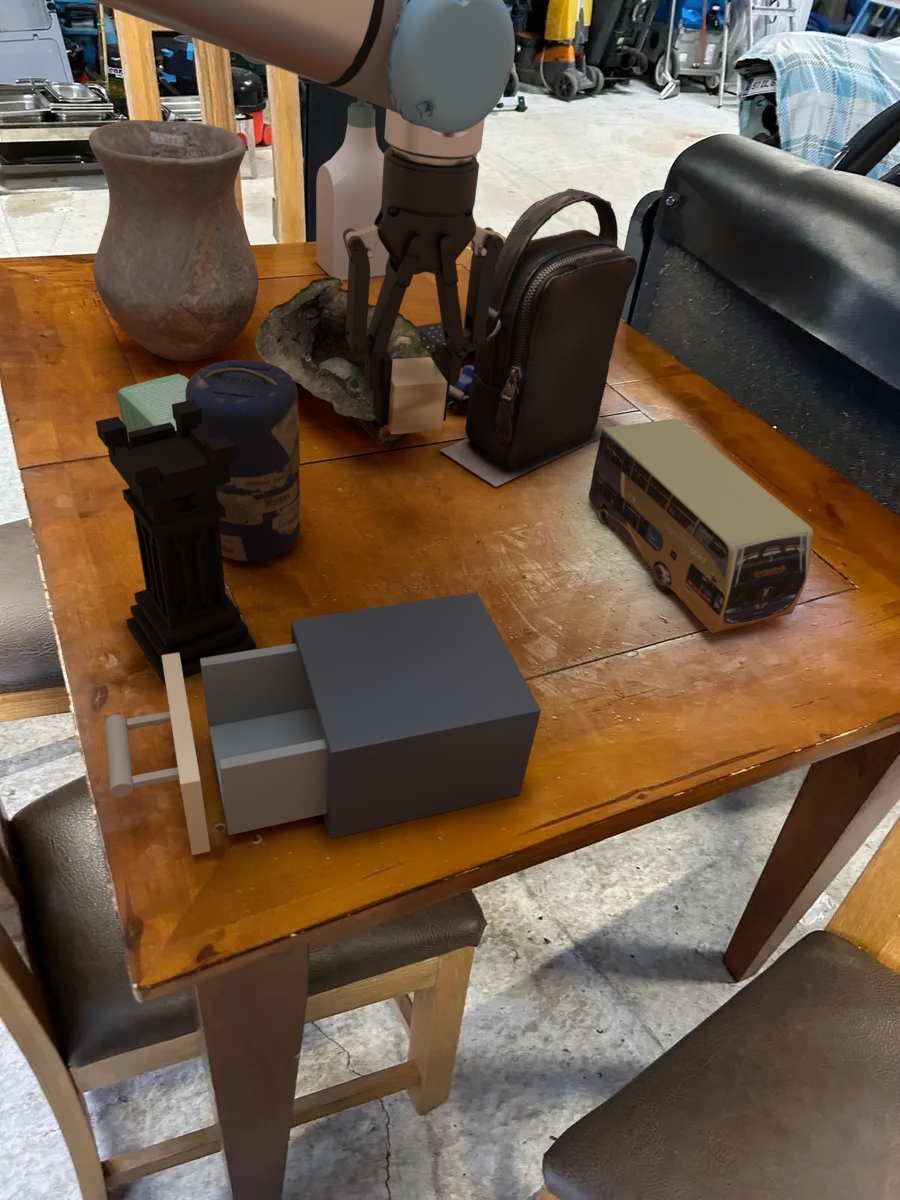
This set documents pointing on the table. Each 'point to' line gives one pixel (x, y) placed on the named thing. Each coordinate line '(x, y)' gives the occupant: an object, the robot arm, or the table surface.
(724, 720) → the table surface
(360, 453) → the table surface
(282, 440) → the canister
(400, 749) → the cabinet
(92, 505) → the table surface
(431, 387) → the block
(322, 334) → the hollow geode rock
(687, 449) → the toy bus
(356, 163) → the soap bottle
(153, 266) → the vase
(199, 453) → the chess piece
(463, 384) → the toy train
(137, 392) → the box
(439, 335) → the calculator
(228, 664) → the drawer
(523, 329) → the shoulder bag
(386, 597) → the table surface
